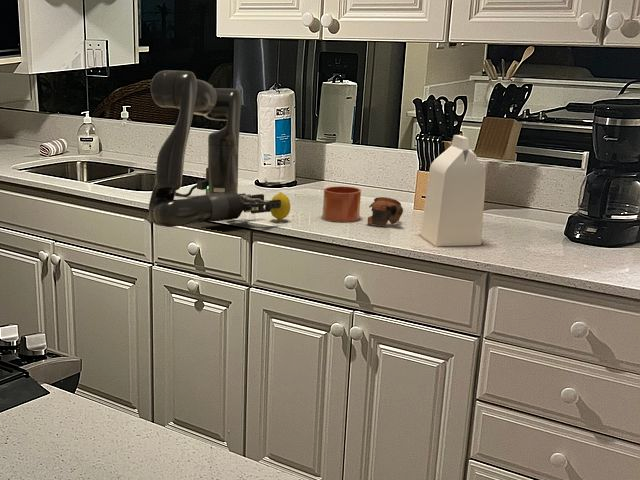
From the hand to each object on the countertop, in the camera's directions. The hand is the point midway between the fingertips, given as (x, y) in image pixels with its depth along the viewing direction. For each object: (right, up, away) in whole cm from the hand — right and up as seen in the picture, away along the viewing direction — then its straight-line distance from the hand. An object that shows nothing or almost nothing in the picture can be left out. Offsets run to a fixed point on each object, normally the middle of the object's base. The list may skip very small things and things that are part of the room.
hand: (271, 200), depth 258 cm
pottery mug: (+31, -7, -1) cm, 32 cm away
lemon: (+3, -5, +3) cm, 7 cm away
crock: (+20, -4, +6) cm, 21 cm away
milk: (+43, -13, -18) cm, 49 cm away
